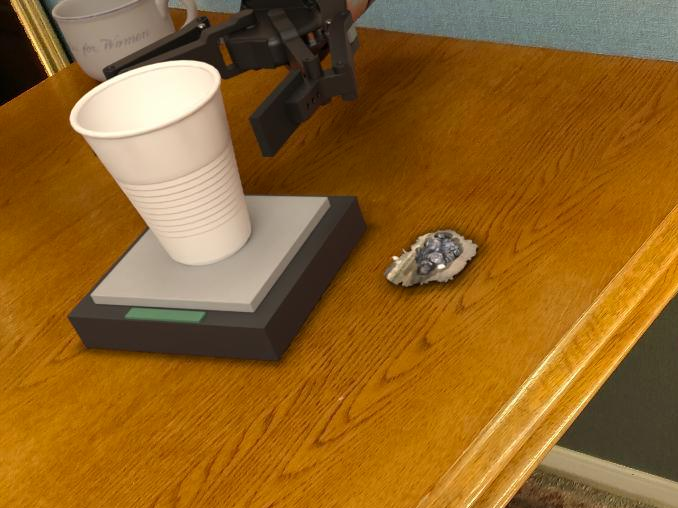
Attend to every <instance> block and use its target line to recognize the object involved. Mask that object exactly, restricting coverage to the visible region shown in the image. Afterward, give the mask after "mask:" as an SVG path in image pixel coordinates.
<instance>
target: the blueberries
mask: <svg viewBox="0 0 678 508" xmlns="http://www.w3.org/2000/svg"><path fill="white" fill-rule="evenodd" d="M417 238H418V239H415V241H416V242H415V243H413V244H411V245H410V249H411V250H410V251H406V250H405V249H404V248H402V249H401V250H403V251H402V252H403V253H401V255H400V257H399V256H396V255H393V256H392V257H391V259H393V261H394V262H391V264H390V266H387V268H385V271H384V272H383V273H382V274H383V275H384V276H385V279H387V280H388V281H390V282H391V283H392V284H394V285H396V286H398V285H399V284H400V283H402V284H401V285H402V286H403V287H405V288H406V287H409V286H413V285H415V284H420V286H422V285H423V284H429V282H432V281H437V282H438V283H439V282H440V283H443V282H444V283H447V282H448V281H449V280H450V281H452V280H454V278H453V276H455V275H458V273H460V272H461V271H462V270H463V269H464V267H465V266H466V265H467V261H468V260H469V261H472V258H473V257H475V256H477V255H476V254H478V253H477V248H479V245H477V244H476V243H473V239H465V237H464V235H461V234H459V233H458V232H456V231H455V230H452V229H445V230H440V229H439V230H437V231H436V232H428V233H426V234H424V235H421V236H418V237H417Z"/></svg>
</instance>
